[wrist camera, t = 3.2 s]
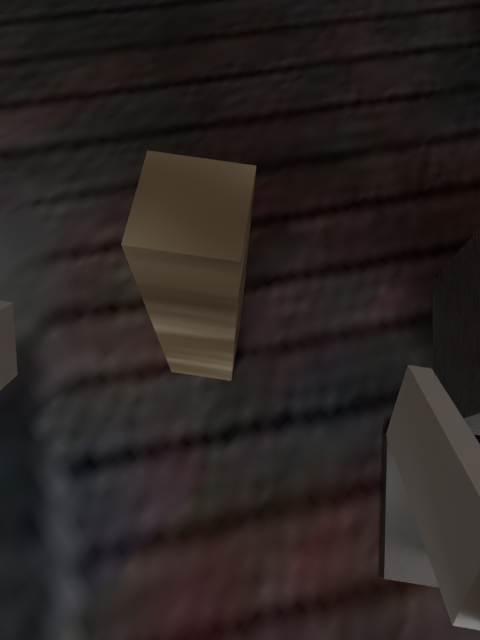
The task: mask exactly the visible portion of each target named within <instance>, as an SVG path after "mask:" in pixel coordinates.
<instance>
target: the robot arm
mask: <svg viewBox="0 0 480 640" xmlns="http://www.w3.org/2000/svg"><path fill="white" fill-rule="evenodd" d="M15 376H17V360H16V345H15V330H14V315H13V303H12V302H6V301H0V390H1V389H2V388H3V387H5V386H6V385H7V384H8V383H9V382H10V381H11V380H12V379H13V378H14V377H15ZM386 436H387V439H388V441H389V444H390V447H391V450H392V453H393V456H394V459H395V462H396V464H397V467H398V470H399V473H400V476H401V479H402V482H403V485H404V487H405V490H406V493H407V496H408V499H409V502H410V505H411V508H412V511H413V513H414V516H415V519H416V522H417V525H418V528H419V531H420V534H421V536H422V539H423V542H424V545H425V548H426V551H427V554H428V557H429V559H430V562H431V565H432V568H433V571H434V574H435V577H436V580H437V582H438V585H439V588H440V591H441V594H442V597H443V600H444V603H445V605H446V608H447V611H448V614H449V617H450V620H451V623H452V625H453V626H459V627H464V628H470V629H476V630H480V444H479V442H478V441H477V439H476V438H475V436H474V434H473V433H472V431H471V430H470V428H469V427H468V425H467V423H466V422H465V420H464V419H463V417H462V416H461V414H460V412H459V411H458V409H457V408H456V406H455V405H454V403H453V401H452V400H451V398H450V397H449V395H448V394H447V392H446V390H445V389H444V387H443V386H442V384H441V383H440V381H439V380H438V378H437V376H436V375H435V373H434V372H433V370H432V369H431V368H424V367H418V366H411V365H408V366H407V370H406V373H405V376H404V379H403V382H402V385H401V389H400V392H399V395H398V398H397V401H396V404H395V407H394V411H393V414H392V417H391V420H390V423H389V426H388V430H387V433H386Z"/></svg>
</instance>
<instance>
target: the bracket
mask: <svg viewBox="0 0 480 640" xmlns="http://www.w3.org/2000/svg"><path fill="white" fill-rule="evenodd" d="M432 321H433V372H434V373H435V375H436V376H437V378H438V380H439V381H440V383H441V384H442V386H443V387H444V389H445V390H446V392H447V394H448V395H449V397H450V398H451V400H452V401H453V403H454V405H455V406H456V408H457V409H458V411H459V412H460V414H461V416H462V417H463V419H464V420H465V422H466V423H467V425H468V427H469V428H470V430H471V431H472V433H473V434H474V435H480V229H479V230H478V231H477V233H476V234H475V235H474V236H473V237H472V238H471V239H470V240H469V241H468V242H467V243H466V244H465V245H464V246H463V247H462V248H461V249H460V250H459V251H458V252H457V254H456V255H455V256H454V257H453V258H452V259H451V260H450V261H449V262H448V263H447V264H446V265H445V266H444V267H443V268H442V269H441V270H440V271H439V272H438V274H437V275H436V276H435V277H434V278H433V279H432ZM379 577H382V578H384V579H389V580H395V581H401V582H408V583H414V584H421V585H427V586H433V587H439V585H438V582H437V580H436V577H435V574H434V571H433V568H432V565H431V562H430V559H429V557H428V554H427V551H426V548H425V545H424V542H423V539H422V536H421V534H420V531H419V528H418V525H417V522H416V519H415V516H414V513H413V511H412V508H411V505H410V502H409V499H408V496H407V493H406V490H405V487H404V485H403V482H402V479H401V476H400V473H399V470H398V467H397V464H396V462H395V459H394V456H393V453H392V450H391V447H390V444H389V441H388V439H387V436H386V433H385V434H383V437H382V476H381V514H380V553H379Z"/></svg>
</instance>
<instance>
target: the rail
mask: <svg viewBox="0 0 480 640" xmlns="http://www.w3.org/2000/svg"><path fill="white" fill-rule="evenodd" d="M255 175H256V166H254V165H247V164H240V163H233V162H226V161H219V160H212V159H205V158H197V157H190V156H183V155H176V154H169V153H162V152H155V151H148V150H147V154H146V158H145V161H144V165H143V168H142V172H141V175H140V179H139V183H138V186H137V190H136V193H135V197H134V201H133V204H132V208H131V211H130V215H129V218H128V222H127V226H126V229H125V233H124V236H123V240H122V244H121V246H122V248H123V251H124V253H125V256H126V258H127V261H128V263H129V266H130V268H131V271H132V273H133V276H134V278H135V281H136V284H137V286H138V289H139V291H140V294H141V296H142V299H143V301H144V304H145V306H146V309H147V311H148V314H149V316H150V319H151V321H152V324H153V326H154V329H155V331H156V334H157V337H158V339H159V342H160V344H161V347H162V349H163V352H164V354H165V357H166V359H167V362H168V364H169V367H170V369H171V372H176V373H183V374H189V375H196V376H203V377H209V378H216V379H223V380H230V381H232V375H233V368H234V362H235V355H236V349H237V342H238V336H239V329H240V322H241V312H242V302H243V292H244V283H245V273H246V263H247V253H248V243H249V233H250V224H251V214H252V204H253V194H254V184H255Z"/></svg>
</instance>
